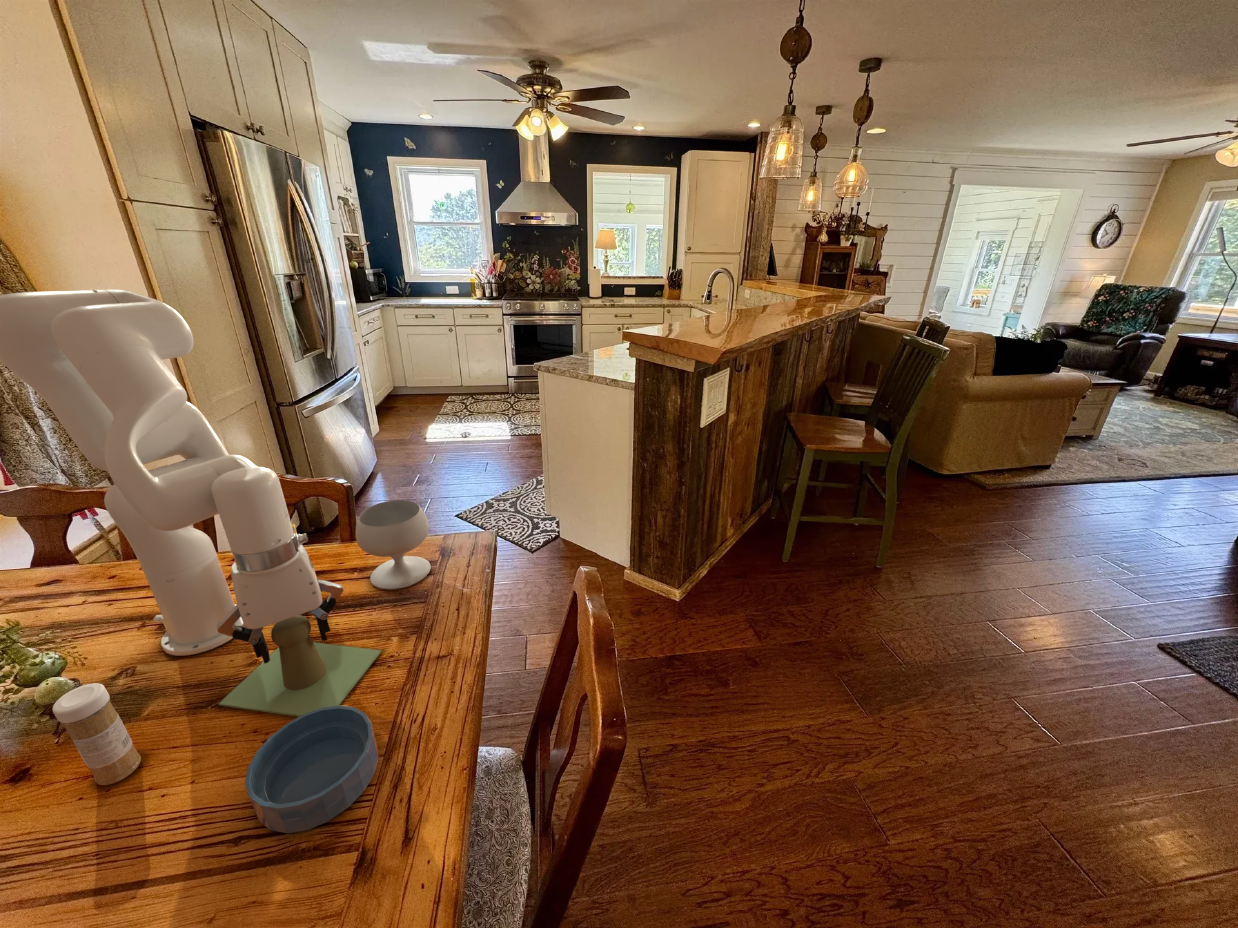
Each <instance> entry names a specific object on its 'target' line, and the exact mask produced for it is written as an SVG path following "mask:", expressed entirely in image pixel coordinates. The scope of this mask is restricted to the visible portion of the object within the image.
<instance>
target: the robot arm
mask: <svg viewBox="0 0 1238 928" xmlns="http://www.w3.org/2000/svg"><path fill="white" fill-rule="evenodd" d="M193 348H194V335H193V332H192V330H191V328H190V326H189V324H188V323H187V321H186V320H185V319H184V318H183V315H181V314H180V313H179V312H178V311H177V310H176V309H174V308H173V307H171V306H170V305H168V304H167V303H165V302H163V301H160V300H158V299H155V298H152V297H149V296H145V295H143V294H139V293H135V292H133V291H129V290H125V289H117V288H116V289H115V288H104V289H103V288H102V289H79V290H78V289H77V290H75V289H74V290H42V291H41V290H40V291H39V290H38V291H23V292H22V291H21V292H13V293H4V294H0V362H1V363H2V364H3V365H4V366H5V367H6V368H7V369H8V370H9V371H11V372H12V373H13V374H14V375H15V376H17V378H19V379H20V380H21V381H22V382H24V383H25V384H27V385H28V386H29V387H31V389H33V390H34V391H35V392H36V393H37V394H39V396H41V398H42V399H43V400H44V401H45V402H46V404H47V405H48V406H49V408H50V410H51V411H52V413H53V414H54V415H55V417H56V418H57V420H58V421H59V423H60V424H61V425H62V427H63V428H64V430H65V431H66V433H67V434H68V435H69V437H70V438H71V440H72V441H73V442H74V444H75V445H76V447H77V448H78V449H79V451H80V452H81V453H82V455H83V456H84V457H85V458H86V460H87V461H88V462H89V463H90V464H91V465H92V466H93V467H94V468H96V469H99V470H101V471H105V472H108V474H109V477H110V479H111V480H112V482H113V483H114V484H113V485H111V486H109V489H108V490H107V491H106V493H105V494H104V498H103V501H104V506H105V509H106V511H107V513H108V514H109V516H110V518H111V519H112V521H113V522H114V523H115V525H116V526H117V527H118V529H119V530H120V531H121V533H122V535H124V537H125V539H126V540H127V542H128V543H129V545H130V547H131V549H132V551H133V553H134V555H135V557H136V560H137V561H138V563H139V567H140V569H141V570H142V572H143V575H144V577H145V579H146V581H147V584H148V586H149V589H150V591H151V593H152V596H153V598H154V600H155V602H156V604H157V605H156V606H157V607H158V609H159V613H160V614H156V615H155V616H154V617H153V619H152V620H153V622H154V623H156V624H163V626H164V628H165V632H164V633H163V635H162V637H161V639H160V646H161V648H162V650H163V652H164V653H166V654H168V655H170V656H178V657H179V656H180V657H181V656H184V657H185V656H191V655H197V654H202V653H205V652H207V651H211V650H213V649H215V648H217V647H220V646H222V645H224V644H225V643H228V642H229V641H231V640H232V639H234V640H238V641H242V642H247V643H248V645H250V646H252V648H253V652H254V653H255V657H256V658H257V659H259V658H261V657H262V662H264V663H268V662H269V661H270V657H269V656H270V651H269V647H268V644H267V642H266V641H267V640H266V639H265V636H264V633H263V630H264V627H267V626H270V625H275V624H276V623H277V622H280V621H283V620H285V619H288V618H291V617H294V616H297V615H303V614H306V613H308V612H310V613H311V614H312V615H314V617H315V620H316V623H317V627H318V631H319V635H320V637H321V641H322V642H327V641H328V637H327V633H329V632H331V627H330V624H329V621H328V618H329V615H330V613H331V612H332V610H333V609H334V608H335V606H336V605H337V602H338V600H339V599H340V597H342V594H343V593H344V592H345V591H344V588H343V585H342V584H341V583H336V582H332V581H329V580H323V579H319V578H318V577H317V573H316V571H315V568H314V565H313V563H312V561H311V558H310V555H309V553H308V552H307V550H306V548H305V547H304V546H303V544H304V543H308V542H309V540H308V539H309V538H308V535H307V533H305V532H304V533H302V534H300V533H297V534H296V533H294V531H293V528H292V524H293V523H292V521H291V518H290V514H289V510H288V507H287V502H286V499H285V496H284V492H283V489H282V485H281V482H280V479H279V476H278V475H277V472H275V471H274V470H272V469H271V468H269V467H265V466H259V465H256V464H255V463H254V462H253V461H251V460H250V459H248V458H247V457H245V456H243V455H240V454H230V453H229V452H228V450H227V449H226V447H225V446H224V444H223V443H222V441H221V440H220V438H219V436H218V435H217V433H216V432H215V430H214V428H213V427H212V425H211V424H210V422H209V421H208V419H207V418H206V417H205V415H204V414H203V413H202V412H201V411H200V410H199V409H198V408H197V407H196V406H195V405H194V404H192V403H191V402H189V401H187V400H188V394H187V391H186V390H185V388H184V387H183V385H182V384H181V383H180V381H178V379H177V378H176V376H175V375H174V374H173V373H172V372H171V371H170V369H169V368H168V366H167V365H166V364H165V363H164V361H163V360H170V359H176V358H177V359H178V358H182V357H184V356H187V355H189V354H190V353H191V352H192V350H193ZM175 456H180V457H182V458H183V459H184V460H181V461H177V462H174V463H170V464H165V465H162V466H159V467H156V468H152V469H149V470H148V469H147V468H146V466H145V465H147V464H151V463H153V462H157V461H161V460H164V459H167V458H172V457H175ZM217 515H218V517H219V519H220V521H221V524H222V527H223V530H224V533H225V536H226V539H227V542H228V545H229V548H230V551H231V554H232V557H233V559H234V563H232V565H231V568H230V572H231V573H230V575H231V580H232V581H231V583H232V587H233V591H234V596H235V601H236V604H235V602H234V599H233V595H232V593H231V590H230V587H229V585H228V582H227V579H226V576H225V573H224V571H223V568H222V565H221V562H220V559H219V557H218V554H217V551H216V549H215V546H214V542H213V540H212V539H211V537H210V536H208V534H206V533H205V532H204V531H201V530H199V529H197V528H195V527H192V526H193V525H195V524H198V523H200V522H203V521H205V520H208V519H210V518H213V517H214V516H217ZM322 592H324V593H329V595H327V596H326V598H325V599H324V600H323V596H322Z"/></svg>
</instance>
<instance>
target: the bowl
mask: <svg viewBox="0 0 1238 928" xmlns="http://www.w3.org/2000/svg"><path fill="white" fill-rule="evenodd" d="M367 715H368V714H366V713H365V712H363V711H361V710H360V709H358V708H357V707H354V706H347V705H341V704H340V705H339V706H331V707H323V708H320V709H317V710H314V711H311V712H308V713H305V714H303V715H301V716H300V717H296V718H294V719H292V720H291V721H289V722H287V723H285V724H284V725H283V726H281V728H279V729H278V730H276V731H275V732H274V733H273V734H271V735H270V736H269V737H268V738H267V739H266V740H265V741H264V742H263V744H262V745H261V746H260V747H259V748H258V749H257V751H256V752H255V754H254V755H253V757H252V758H251V761H250V763H249V764H248V767H247V769H246V774H245V781H244V786H245V789H246V792H247V795H248V798H249V800H250V803H251V805H252V808H253V809H254V812H255V815H256V817H257V820H258V822H259V823H260V824H262V825H263V826H264V827H266V828H267V829H268V830H270V831H272V832H276V833H277V832H278V833H284V834H293V833H297V832H305V831H309V830H312V829H314V828H316V827H318V826H321V825H323V824H326V823H327V822H329V821H331V820H332V819H334V818H335V817H338V815H340V814H342V812H344V811H346V810H347V809H348V808H349V807H351V806H352V805H353V804H354V803H355V801H356V800H357V799H358V798H359V797H360V796H361V795H363V793H364V792H365V790H366V789H367V788H368V786H369V784H370V782H371V781H372V779H373V777H374V776H375V773H376V769H377V765H378V762H379V749H378V743H377V739H376V736H375V731H374V727H373V724H372V721H371V720H370V718H369V717H368V716H367Z"/></svg>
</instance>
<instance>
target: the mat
mask: <svg viewBox="0 0 1238 928" xmlns="http://www.w3.org/2000/svg"><path fill="white" fill-rule="evenodd" d="M313 642H314V641H313ZM314 644H315V646H316V648H317V650H318V652H319V654H320V656H321V658H322V660H323V662H324V664H325V666H326V672H325V674H324V676H323V677H322V678H321V679H320V680H319V681H318V682H317V683H315V684H313V685H312V686H310V687H307V688H305V689H301V690H289V689H286V688H285V686H284V684H283V676H282V668H281V659H280V651H279V646H277V648H276V649H275V650H274V651H273V652H272V653H271V654H269V657H270V661H269V662H268V663H264V661H262V662H261V663H260V664H259V665H258V666H257V667H256V668H255V669H254V670H253V671H252V672H250V673H249V674H248V676H246V677H245V678H244V679H243V680H242V681H241V682H240V683H239V684H238V685H237V686H236V687H234V688H233V690H231V691H230V692H229V693H228V694H227V695H226V696H225V697H224V698H223V699H221V701H220V702H219V703H218V706H220V707H226V708H232V709H241V710H246V711H254V712H260V713H267V714H275V715H283V716H290V717H296V718H298V717H300V716H301V715H303V714H305V713H308V712H311V711H314V710H317V709H320V708H323V707H331V706H339V705H340V706H341V704H342V702H343V701H344V700H345V699H346V698H347V696H348V695H349V693H351V691H352V690H353V689H354V688H355V686H356V685H357V683H358V682H359V681H360V680H361V679H362V677H363V676H364V675H365V673H366V672H367V671H368V670H369V668H370V667H371V666H372V665H373V663H374V662H375V661H376V659H377V658H378V657H380V654H382V650H381V649H373V648H363V647H357V646H356V647H355V646H347V645H339V644H332V643H331V644H330V643H324V642H323V643H322V642H314Z"/></svg>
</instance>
